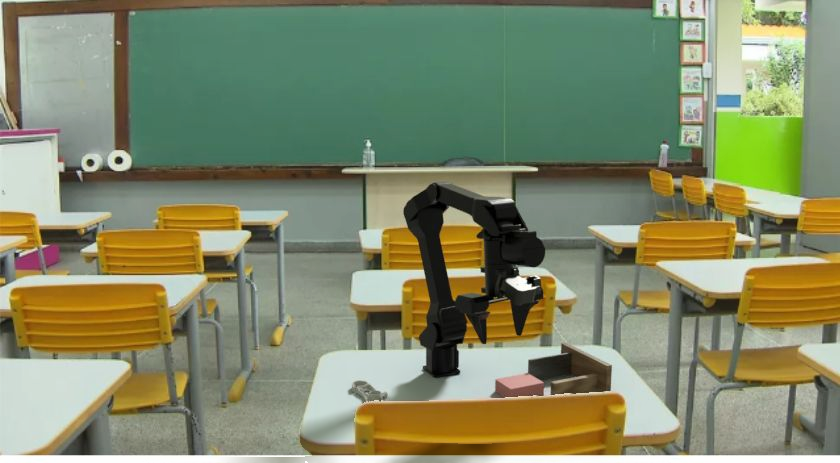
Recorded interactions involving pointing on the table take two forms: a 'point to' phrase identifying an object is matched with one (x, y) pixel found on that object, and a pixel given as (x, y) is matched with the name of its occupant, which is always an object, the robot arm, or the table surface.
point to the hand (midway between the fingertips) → (501, 339)
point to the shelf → (572, 371)
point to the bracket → (364, 387)
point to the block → (519, 386)
